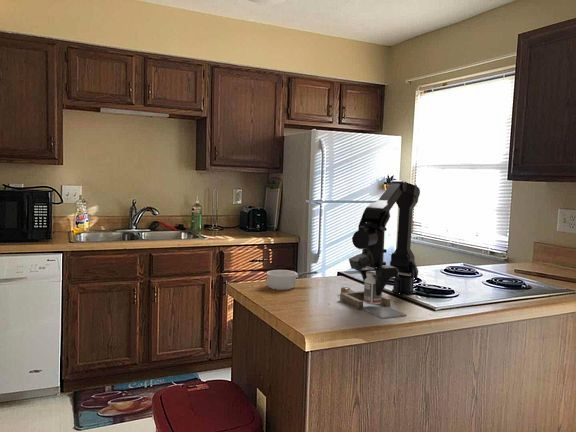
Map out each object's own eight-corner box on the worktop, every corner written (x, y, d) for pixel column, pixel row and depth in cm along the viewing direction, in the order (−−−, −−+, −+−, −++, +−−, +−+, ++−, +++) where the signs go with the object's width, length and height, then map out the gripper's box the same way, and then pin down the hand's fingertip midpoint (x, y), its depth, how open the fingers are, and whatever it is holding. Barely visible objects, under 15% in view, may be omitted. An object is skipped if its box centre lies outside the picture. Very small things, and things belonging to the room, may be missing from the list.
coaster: (389, 308, 155) (389, 306, 155) (406, 315, 147) (406, 314, 147) (365, 310, 152) (365, 309, 151) (382, 318, 143) (382, 317, 143)
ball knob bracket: (357, 291, 175) (357, 285, 175) (390, 306, 157) (390, 298, 157) (328, 294, 171) (328, 287, 170) (358, 309, 152) (359, 302, 152)
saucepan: (322, 289, 179) (322, 274, 178) (270, 292, 172) (271, 276, 172) (310, 282, 190) (311, 268, 189) (262, 284, 183) (262, 270, 183)
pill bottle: (381, 300, 158) (383, 271, 157) (381, 305, 152) (382, 274, 152) (364, 299, 159) (365, 270, 158) (363, 304, 154) (364, 273, 153)
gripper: (338, 242, 159) (336, 288, 161) (369, 251, 142) (367, 302, 144) (367, 241, 164) (365, 286, 165) (400, 249, 147) (398, 299, 148)
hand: (372, 293), depth 156 cm, fingers closed on pill bottle, 6 cm apart
